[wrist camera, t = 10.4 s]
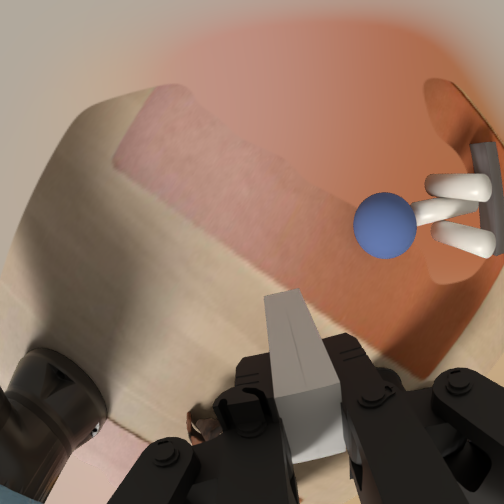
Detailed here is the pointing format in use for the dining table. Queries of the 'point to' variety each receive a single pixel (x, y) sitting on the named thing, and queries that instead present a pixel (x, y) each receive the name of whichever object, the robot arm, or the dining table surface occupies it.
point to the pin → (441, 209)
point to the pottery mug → (203, 429)
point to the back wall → (498, 206)
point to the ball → (385, 225)
